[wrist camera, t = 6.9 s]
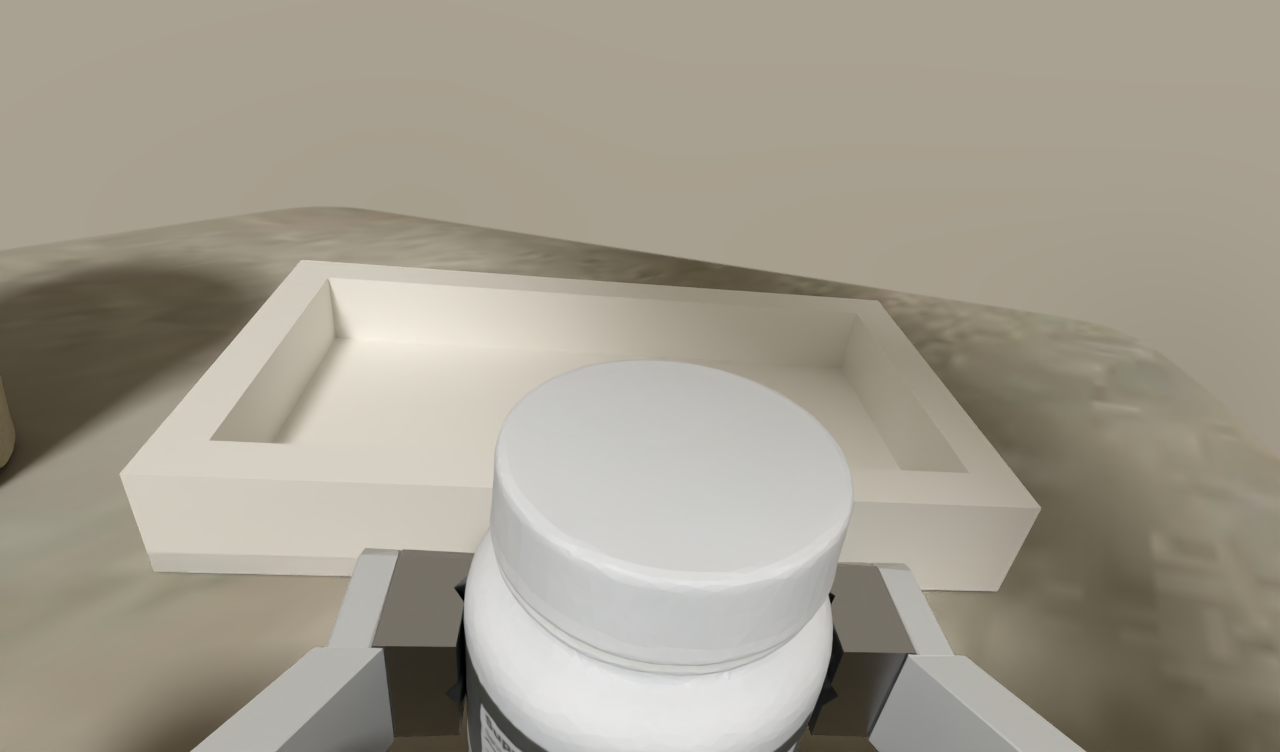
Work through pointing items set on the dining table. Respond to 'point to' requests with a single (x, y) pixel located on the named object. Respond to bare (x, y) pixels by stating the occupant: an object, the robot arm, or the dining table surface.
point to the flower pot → (5, 428)
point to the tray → (500, 377)
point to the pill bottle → (654, 566)
